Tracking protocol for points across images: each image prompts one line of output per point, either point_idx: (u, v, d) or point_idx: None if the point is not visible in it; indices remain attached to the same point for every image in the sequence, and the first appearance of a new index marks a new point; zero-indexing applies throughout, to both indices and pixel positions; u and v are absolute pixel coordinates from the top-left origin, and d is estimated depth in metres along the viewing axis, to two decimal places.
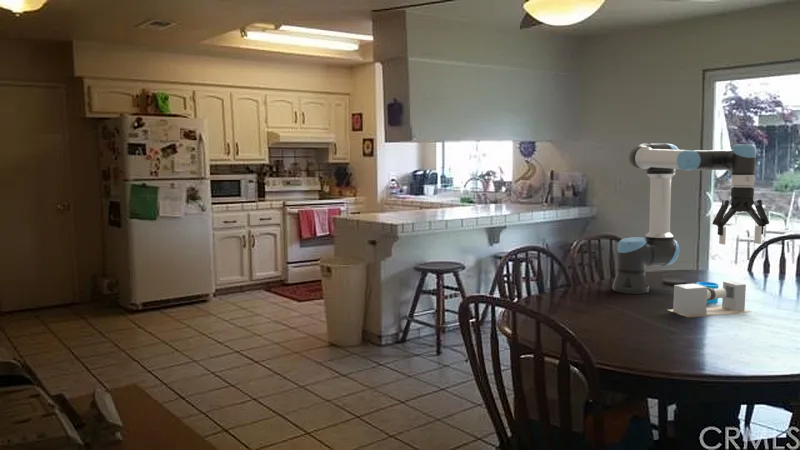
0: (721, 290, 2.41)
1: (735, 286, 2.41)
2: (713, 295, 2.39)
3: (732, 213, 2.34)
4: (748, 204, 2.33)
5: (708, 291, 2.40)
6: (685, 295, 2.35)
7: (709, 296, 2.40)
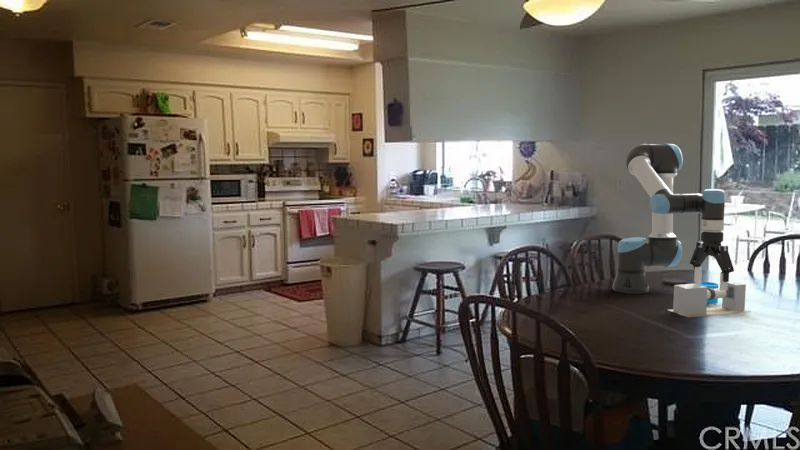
0: None
1: (735, 286, 2.41)
2: (713, 295, 2.39)
3: (701, 255, 2.43)
4: (709, 248, 2.38)
5: (708, 291, 2.40)
6: (685, 295, 2.35)
7: (709, 296, 2.40)
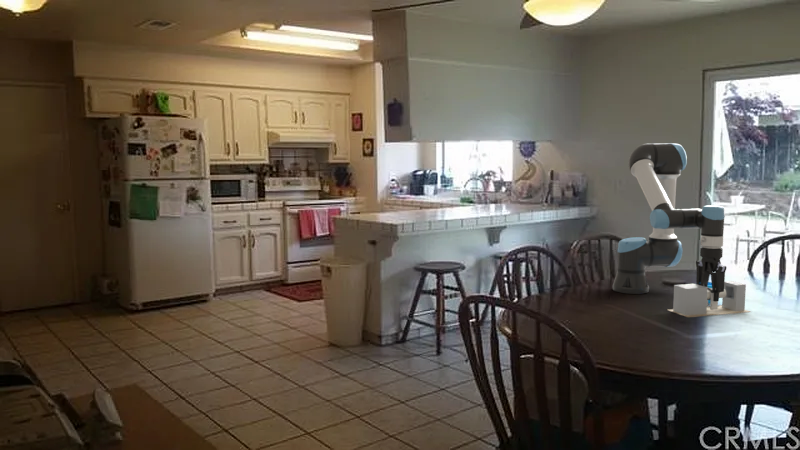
0: None
1: (735, 286, 2.41)
2: None
3: (703, 274, 2.43)
4: (708, 264, 2.39)
5: (708, 291, 2.40)
6: (685, 295, 2.35)
7: (709, 296, 2.40)
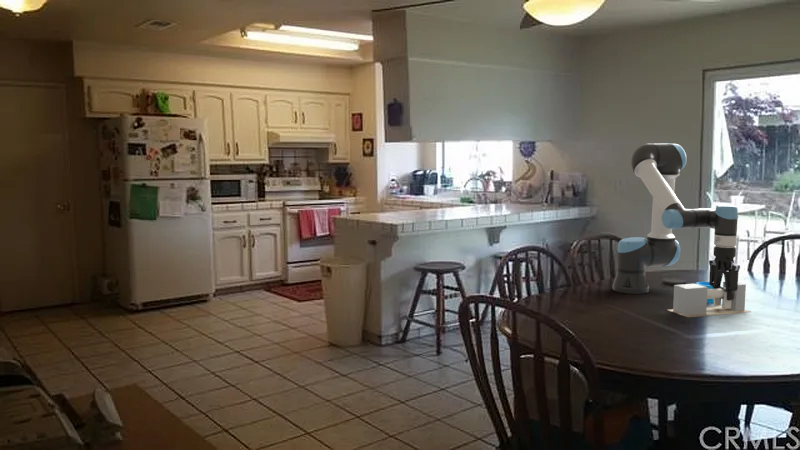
0: None
1: None
2: None
3: (716, 273, 2.44)
4: (722, 264, 2.40)
5: (721, 290, 2.41)
6: (685, 295, 2.35)
7: (722, 295, 2.41)
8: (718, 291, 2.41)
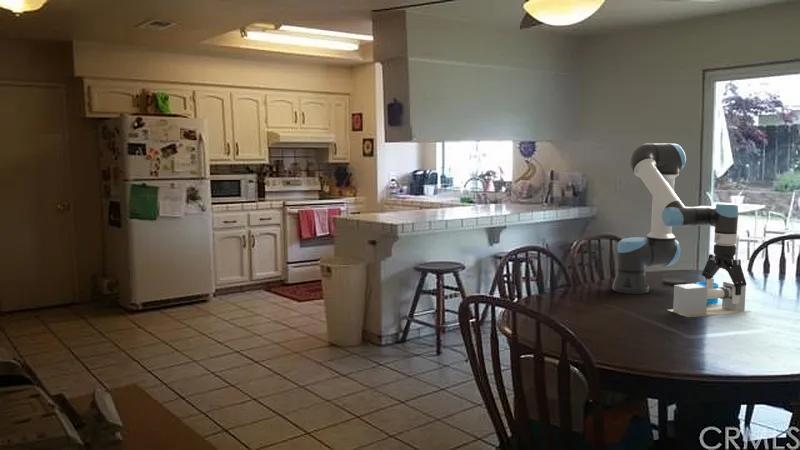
0: None
1: None
2: (726, 294, 2.41)
3: (713, 267, 2.46)
4: (722, 262, 2.40)
5: (721, 290, 2.41)
6: (685, 295, 2.35)
7: (722, 295, 2.41)
8: (718, 291, 2.41)
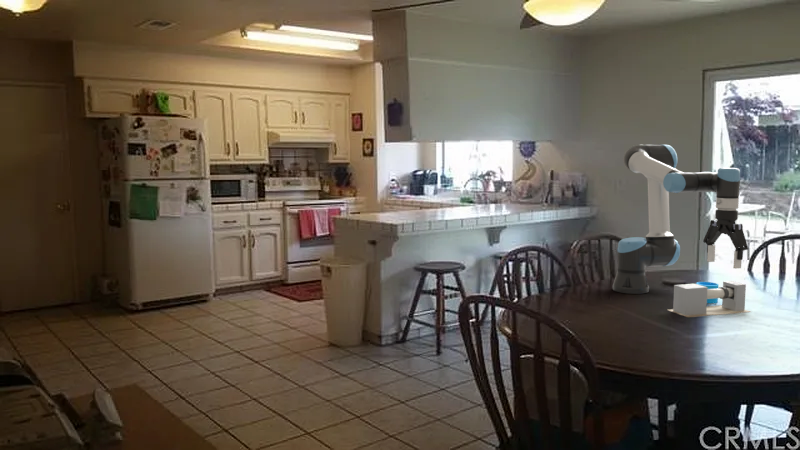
0: None
1: (735, 286, 2.41)
2: (726, 294, 2.41)
3: (714, 233, 2.44)
4: (724, 227, 2.38)
5: (721, 290, 2.41)
6: (685, 295, 2.35)
7: (722, 295, 2.41)
8: (718, 291, 2.41)
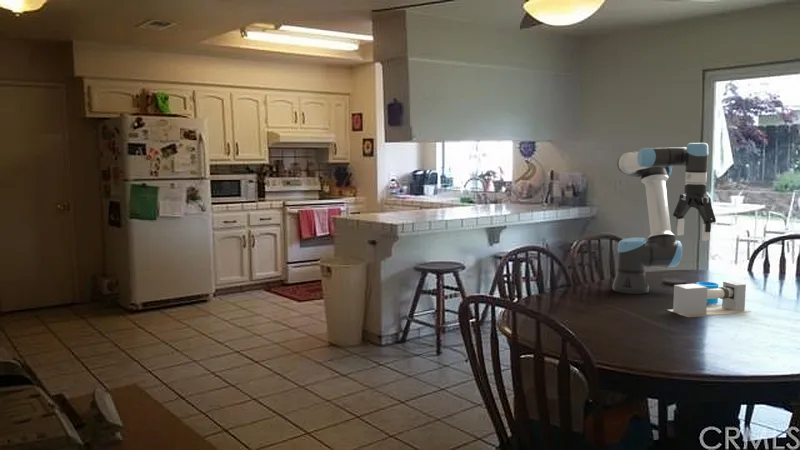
0: None
1: (735, 286, 2.41)
2: (726, 294, 2.41)
3: (684, 207, 2.51)
4: (692, 200, 2.45)
5: (721, 290, 2.41)
6: (685, 295, 2.35)
7: (722, 295, 2.41)
8: (718, 291, 2.41)
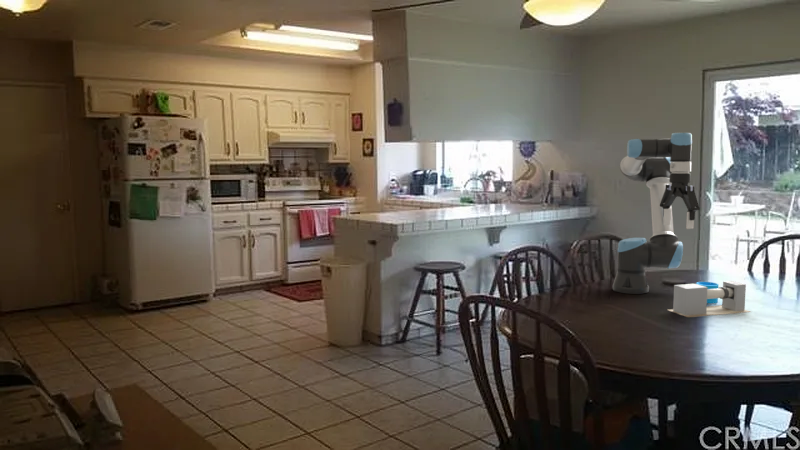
0: None
1: (735, 286, 2.41)
2: (726, 294, 2.41)
3: (669, 197, 2.54)
4: (677, 189, 2.48)
5: (721, 290, 2.41)
6: (685, 295, 2.35)
7: (722, 295, 2.41)
8: (718, 291, 2.41)
